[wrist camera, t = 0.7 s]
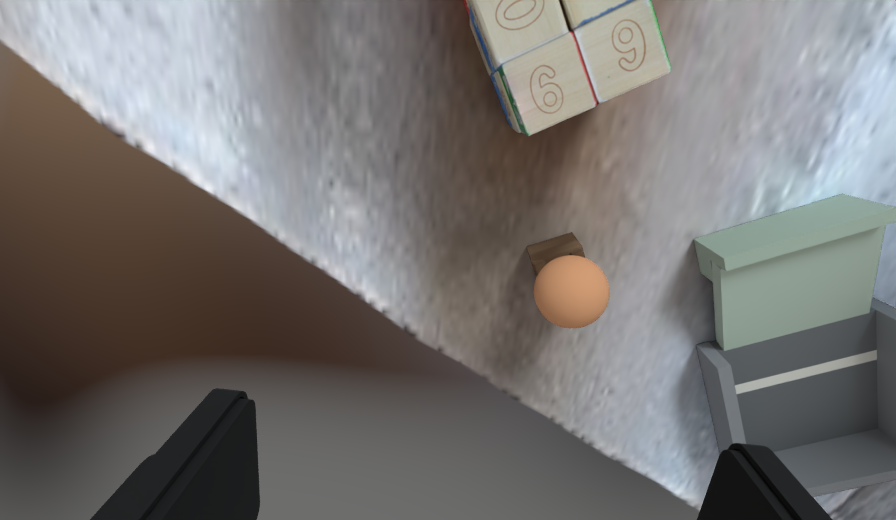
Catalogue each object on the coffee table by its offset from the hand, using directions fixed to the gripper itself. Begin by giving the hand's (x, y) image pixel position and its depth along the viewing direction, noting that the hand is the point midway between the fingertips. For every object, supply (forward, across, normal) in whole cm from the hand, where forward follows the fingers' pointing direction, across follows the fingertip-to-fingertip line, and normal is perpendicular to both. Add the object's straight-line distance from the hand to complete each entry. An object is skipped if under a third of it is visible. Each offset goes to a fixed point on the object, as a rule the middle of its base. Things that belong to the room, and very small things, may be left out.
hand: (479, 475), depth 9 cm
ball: (+16, -6, +2) cm, 18 cm away
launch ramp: (+22, -20, +2) cm, 29 cm away
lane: (+22, -24, +9) cm, 33 cm away
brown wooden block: (+22, -6, +2) cm, 23 cm away
